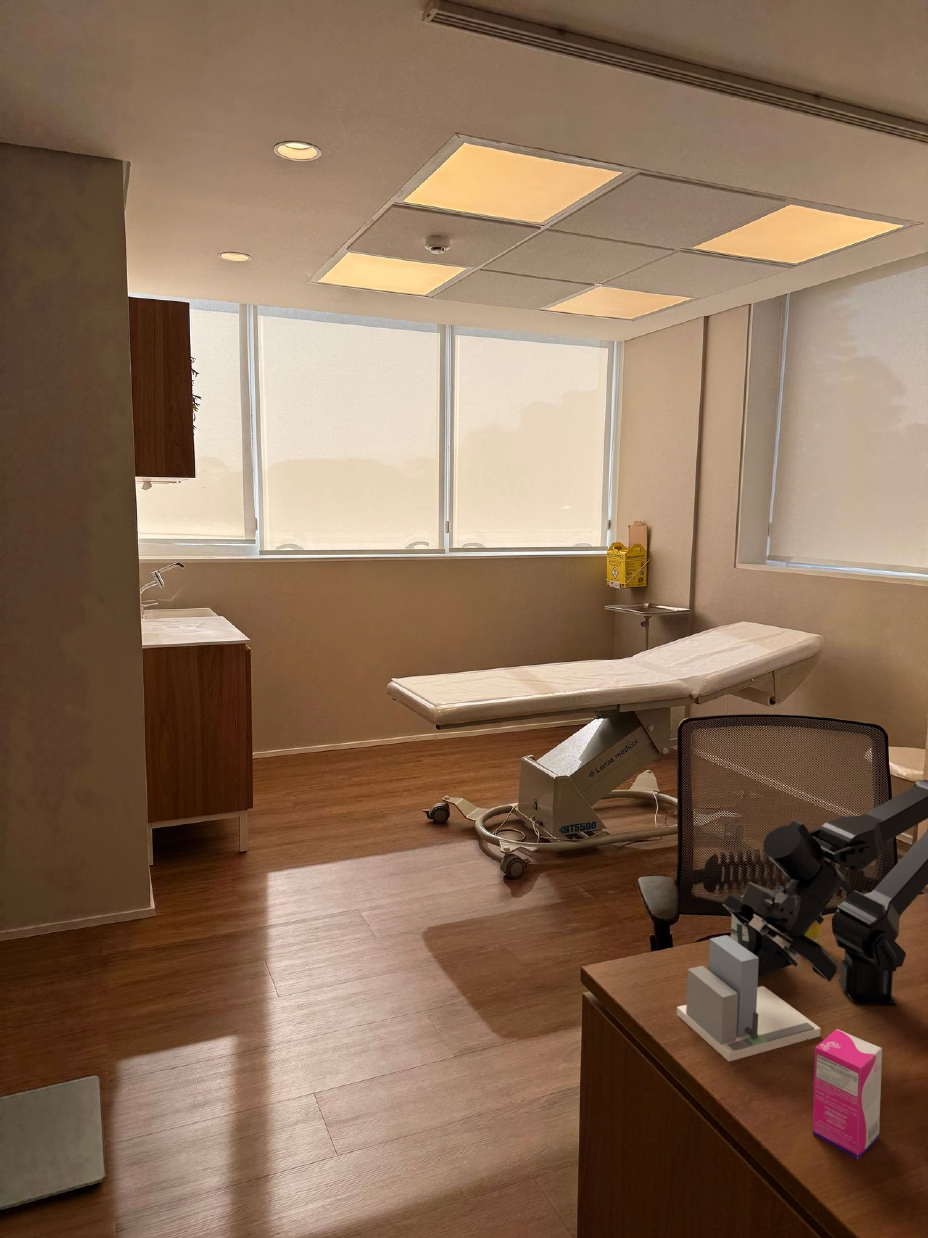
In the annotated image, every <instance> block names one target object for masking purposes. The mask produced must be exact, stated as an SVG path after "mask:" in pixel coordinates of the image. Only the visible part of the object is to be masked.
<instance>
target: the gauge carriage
mask: <svg viewBox="0 0 928 1238" xmlns="http://www.w3.org/2000/svg"><path fill="white" fill-rule="evenodd" d="M758 963H759V958H758V957H757V956H756V955H754V954H753V953H751V952H750V951H748V950H747V949H746V948H744V947H743V946H741V945H740V944H738V943H737V942H736V941H734V940H733V939H731V936H728V935H726V934H725V935H721V936H717V937H712V938H709V947H708V970H709V971H710V972H711V973H713V974H714V975H715V976H716V977H718V978H719V979H720V980H722V981H723V982H724V983H725V984H727V985H728V986H729V987H730V988H732V989H733V990H734V991H736V992H737V993H738V1011H737V1035H742V1034H746V1033H747V1034H748V1035H750V1036H751V1037H752V1038H753V1039H757V1038H758V1034H757V1032H758V1013H756V1006H757V987H758V981H759V980H758V979H759V978H758Z"/></svg>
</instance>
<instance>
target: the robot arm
mask: <svg viewBox="0 0 928 1238" xmlns="http://www.w3.org/2000/svg"><path fill="white" fill-rule="evenodd" d="M926 820H928V779H923V780H922V779H921V780H918V781H916V782H915V783H914V785H913V786H912V787H910V788H909V789H907V790H904V792H901V793H900V794H897V796H894V797H893V798H890V799H889V800H887V801H885V802H884V803H882V804H881V805H880V804H879V806H877V807H874V808H873V809H872V810H870V811H868V812H865V813H863V814H861V815H852V816H851V815H849V816H848V815H847V816H840V817H838V818H835V819H832V820H829V821H827V822H824V824H822V825H821V826H820V827H817V828H816V829H813V830H808V827H806V825H804V823H802V822H800V821H797V820H795V819H792V821H791V822H790V823H789V824H788V825H781V826H778V827H776V828H775V829H773V830H771V831H769V832H768V834H767V835H766V836H765V838H764V841H763V851H764V853H765V854H766V855H767V856H768V858H770V859H771V861H772V862H773V863H774V864H775V865H776V866H777V867H778V868H779V869H780V870H781V871H782V873H783V874H784V875H785V876H786V877H787V878H788V879H791V880H790V881H789V883H788V884H787V885H786V886H784V885H782V884H779V885H777V886H776V887H775V888H774V889H773V890H772V889H769V888H766V887H763V886H761V885H759V884H756V883H753V882H750V881H748V882H747V885H746V888H745V890H744V892H743V895H740V894H738V893H731V894H729V895H728V896H727V897H726V899H725V900H724V901H723V903H722V906H723V907H724V908H725V909H726V910H727V911H728V912H729V913H730V914H731V916H732V915H733V916H734V917H735V918H736V919H737V920H738V921H739V922H740V923H742V924H743V925H744V926H745V927H746V928H747V930H748V937H749V942H748V947H747V950H748V951H750V952H751V953H753V954H754V955H756V956H757V957H758V958H759V963H758V979H761V978H763V977H764V976H766V975H769V974H771V973H773V972H776V971H779V970H782V969H784V968H787V967H791V966H793V967H798V965H799V964H798V962H796V961H797V960H798V959H799V957H801V958H803V959H804V960H806V961H807V962H809V963H810V964H811V965H812V972H814V974H816V975H818V976H819V977H821V978H822V979H824V980H825V981H827V982H829V983H830V982H831V981H832V979H833V978H835V975H836V974H837V972H838V971H837V970H838V962H837V961H836V960H835V958H833V956H832V955H830V953H828V951H827V950H826V949H825V948H824V947H823V946H822V945H821V944H820V943H819V944H818V943H816V942H814V941H813V940H811V939H809V938H808V937H806V936H805V934H806V932H807V931H808V930H809V928H810V927H811V926H812V924H813V923H814V922H816V923H818V924H821V925H822V923H823V922H824V920H825V918H823V916H822V913H823V911H824V910H825V908H826V907H827V905H828V904H829V903H830V902H831V900H832V898H833V897H835V895H836V894H837V892H838V891H839V890H842V891H843V892H845V893H847V894H848V895H847V896H846V898H845V899H844V900H843V901H842V902H841V903H839V904H838V905H836V906H835V908H836V909H837V910H836V911H835V912H834V913H833V915H832V917H831V931H832V935H833V937H834V939H835V942H836V946H837V947H839V948H841V949H843V950H844V958H843V959H842V960H841V961H840V971H839V972H840V973H839V974H840V975H839V979H838V983H839V985H840V987H841V988H842V989H843V991H844V992H845V994H846V995H847V996H848V998H849V999H850V1000H851V1002H852V1003H853V1004H859V1005H860V1004H861V1005H885V1006H890V1005H891V1006H895V1005H896V1006H897V1000H896V999H895V998H894V996H893V995H892V993H893V992H892V991H893V977H894V972H896V971H897V968H901V967H903V965H904V962H905V959H906V956H907V953H906V951H905V950H904V949H903V948H902V947H901V946H900V945H899V943H897V941H896V940H897V938H899V937H898V936H899V935H900V934H899V933H900V919H901V915H902V914H903V913H904V912H905V911H906V910H907V908H908V907H909V906H910V905H911V904H912V903H913V902H914V901H915V899H917V897H918V896H919V895H920V894H921V893H922V891H923V890H924V889H925V888H926V887H927V886H928V828H927V829H926V831H925V832H924V833H923V834H922V835H921V837H920V838H918V840H917V841H916V842H915V843H914V844H913V845H912V846H911V848H909V849H908V850H907V852H906V853H905V854H904V855H903V856H902V858H901V859H900V860H899V861H898V862H897V863H896V864H895V865H894V866H893V868H892V869H890V871H889V872H888V873H887V874H886V876H885V877H884V878H883V879H882V880H881V881H880V882H879V883H878V884H877V886H876V887H874V889H873V890H872V891H871V892H868V893H862V892H860V891H858V890H852V887H851V886H852V885H851V883H850V873H847V872H846V871H844V870H842V869H839V868H836V866H835V865H834V864H833V863H835V864H837V865H840V866H842V867H844V868H846V869H849V870H850V871H854V872H860V871H863V870H865V868H867V867H868V866H869V865H870V864H872V863H873V862H874V861H875V860H877V858H879V857H880V856H881V853H882V849H883V847H884V845H885V844H887V843H888V842H889V841H891V840H893V839H894V838H896V837H897V836H900V835H901V834H903V833H905V832H908V830H910V829H912V828H913V827H914V828H915V826H917V825H918V824H921V823H922V822H924V821H926ZM825 859H826V860H825ZM828 860H829V861H828ZM830 861H831V862H833V863H831V862H830ZM742 896H743V897H742ZM820 914H821V915H820Z"/></svg>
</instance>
